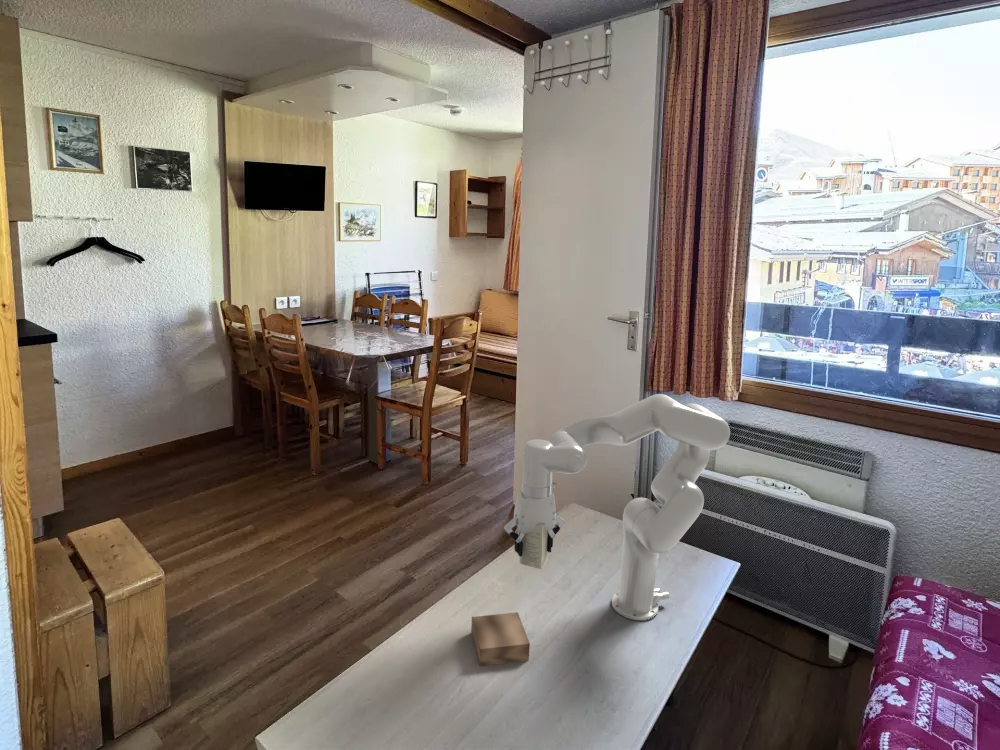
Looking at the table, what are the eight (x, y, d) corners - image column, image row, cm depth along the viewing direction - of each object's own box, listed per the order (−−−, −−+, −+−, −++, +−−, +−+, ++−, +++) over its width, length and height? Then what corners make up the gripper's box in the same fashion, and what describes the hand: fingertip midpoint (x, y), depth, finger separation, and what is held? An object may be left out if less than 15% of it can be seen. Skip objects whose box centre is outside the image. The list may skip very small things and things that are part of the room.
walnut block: (516, 629, 159) (517, 612, 158) (528, 661, 148) (529, 643, 146) (471, 633, 156) (471, 616, 155) (479, 667, 145) (480, 649, 144)
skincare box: (547, 561, 160) (549, 519, 157) (541, 570, 156) (543, 526, 153) (524, 555, 163) (526, 513, 160) (518, 563, 159) (519, 520, 156)
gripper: (562, 479, 160) (559, 540, 165) (499, 485, 155) (496, 548, 160) (574, 491, 153) (570, 554, 158) (508, 498, 148) (505, 564, 153)
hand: (533, 551), depth 159 cm, fingers closed on skincare box, 7 cm apart
